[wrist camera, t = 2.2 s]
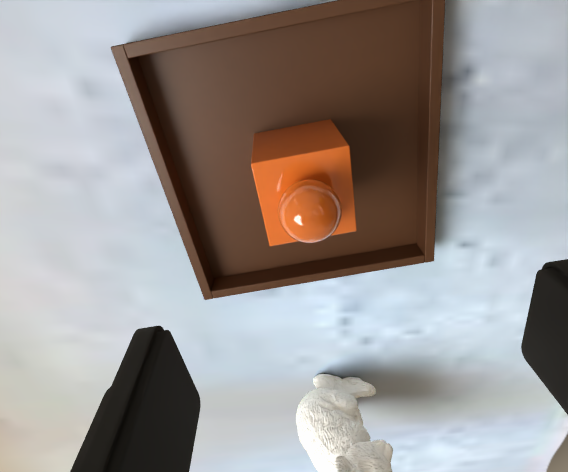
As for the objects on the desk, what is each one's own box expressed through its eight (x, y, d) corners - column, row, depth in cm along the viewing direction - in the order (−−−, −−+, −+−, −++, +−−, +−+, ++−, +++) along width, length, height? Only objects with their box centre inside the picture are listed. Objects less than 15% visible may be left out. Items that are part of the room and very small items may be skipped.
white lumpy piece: (376, 408, 34) (425, 575, 24) (306, 421, 35) (324, 590, 24) (366, 346, 30) (420, 517, 20) (286, 362, 30) (297, 537, 20)
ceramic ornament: (268, 203, 23) (270, 278, 16) (253, 133, 20) (248, 187, 14) (339, 191, 22) (370, 261, 16) (331, 118, 20) (364, 165, 14)
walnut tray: (208, 282, 26) (204, 300, 24) (123, 44, 18) (109, 46, 17) (423, 245, 25) (434, 261, 24) (429, -18, 18) (446, -22, 16)
